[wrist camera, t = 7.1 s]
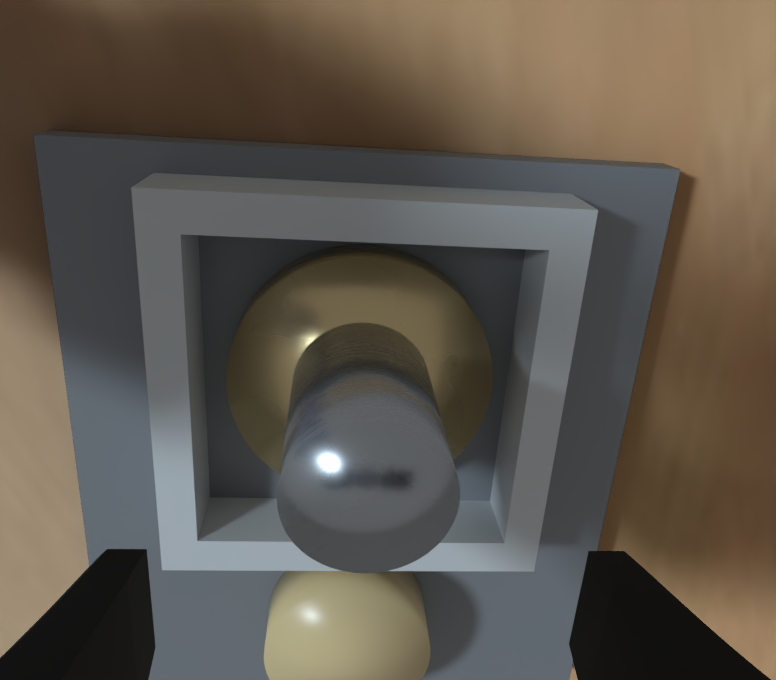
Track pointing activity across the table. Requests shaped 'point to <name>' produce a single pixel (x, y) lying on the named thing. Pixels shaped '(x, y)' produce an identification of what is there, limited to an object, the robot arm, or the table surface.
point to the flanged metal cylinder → (361, 401)
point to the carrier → (260, 482)
